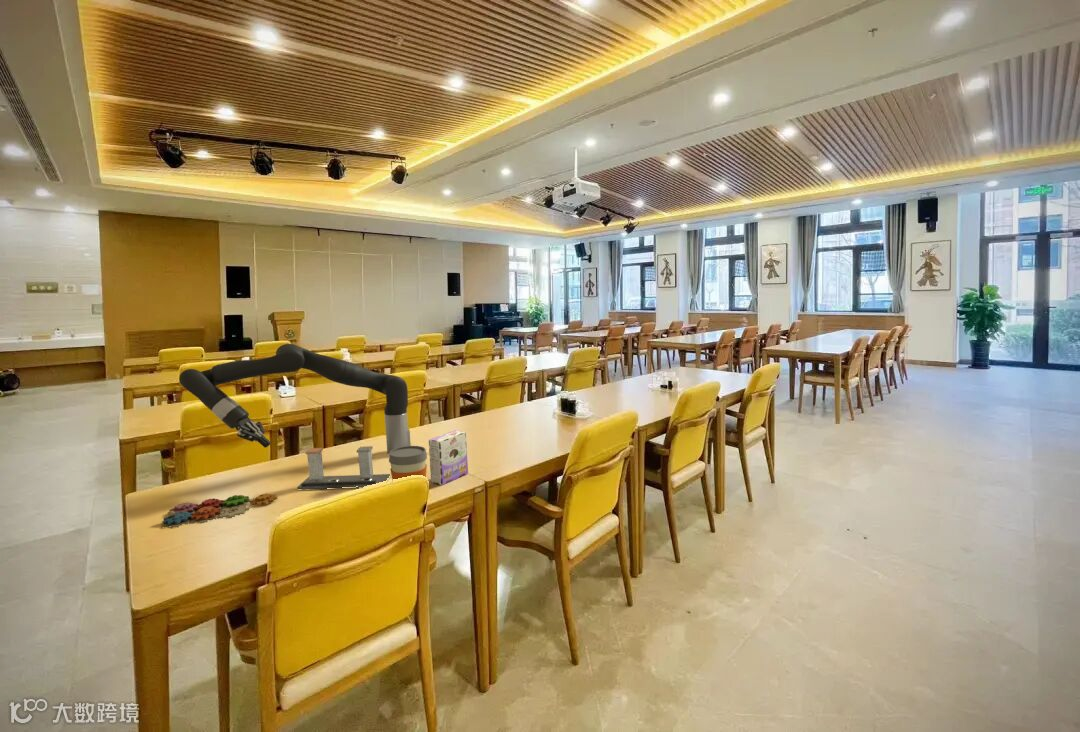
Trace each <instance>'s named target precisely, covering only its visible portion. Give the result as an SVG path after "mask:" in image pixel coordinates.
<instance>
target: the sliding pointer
mask: <svg viewBox="0 0 1080 732" xmlns="http://www.w3.org/2000/svg"><path fill="white" fill-rule="evenodd" d="M323 450H324V448H323V447H313V448H309V449H308V450H306V451H305V455H307V464H308V465H307V466H308V475H309V476H308V477H309V478H310V481H318V480H321V479H322V478H323V477H324V476H325V475H324V465H323V454H322V453H323Z"/></svg>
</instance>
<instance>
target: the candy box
mask: <svg viewBox="0 0 1080 732" xmlns="http://www.w3.org/2000/svg"><path fill="white" fill-rule="evenodd" d="M466 433H467V432H466V431H461V430H452V431H450V432H447V433H443V434H440V435H438V436H435V437H431V438H429V439H428V448H429V449H428V452H429V467H430V482H431V483H433V484H435V485H438V486H444V485H446V484H448V483H451V482H452V481H455V480H457V479H459V478H461V477H463V476H465V475H467V474H468V473H469V468H468V467H469V465H468V451H467V434H466Z"/></svg>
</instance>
